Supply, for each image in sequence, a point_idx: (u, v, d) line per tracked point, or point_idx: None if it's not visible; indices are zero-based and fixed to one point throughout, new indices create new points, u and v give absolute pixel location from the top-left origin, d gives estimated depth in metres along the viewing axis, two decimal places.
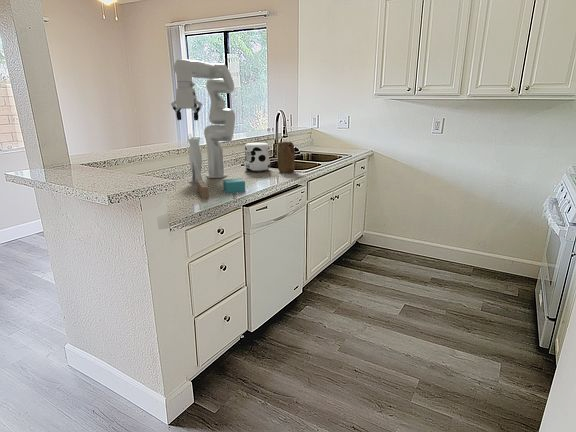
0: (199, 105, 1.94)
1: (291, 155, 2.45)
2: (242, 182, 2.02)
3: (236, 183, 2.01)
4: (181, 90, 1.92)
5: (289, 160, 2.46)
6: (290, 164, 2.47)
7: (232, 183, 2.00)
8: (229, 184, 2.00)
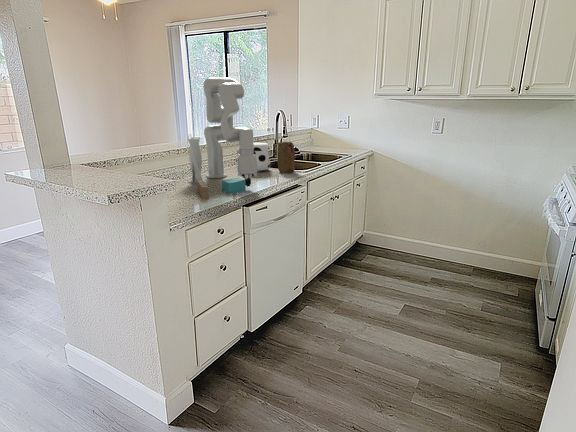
0: None
1: (291, 155, 2.45)
2: (243, 181, 2.03)
3: (237, 183, 2.02)
4: None
5: (289, 160, 2.46)
6: (290, 164, 2.47)
7: (234, 183, 2.00)
8: (230, 185, 1.99)
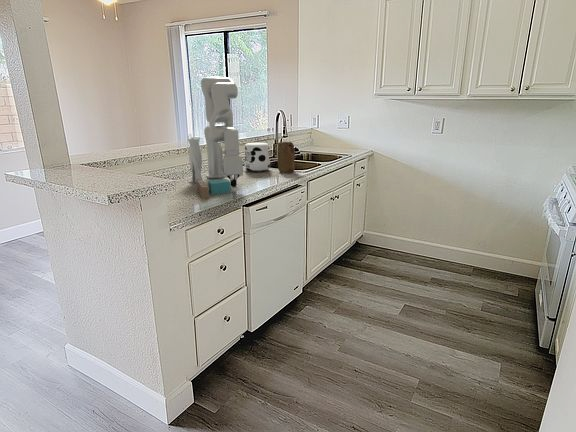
0: None
1: (291, 155, 2.45)
2: (227, 183, 2.00)
3: (221, 184, 1.99)
4: None
5: (289, 160, 2.46)
6: (290, 164, 2.47)
7: (217, 184, 1.99)
8: (213, 185, 1.98)
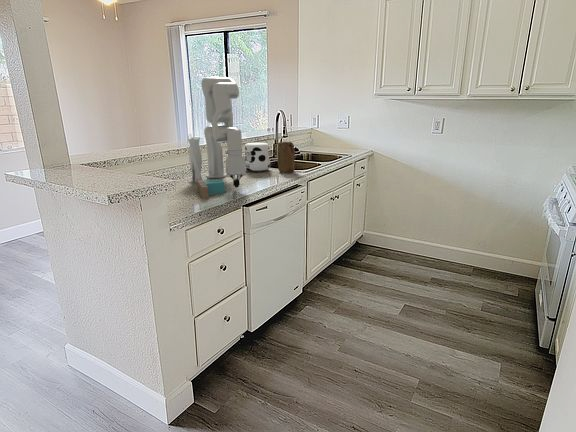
0: None
1: (291, 155, 2.45)
2: (222, 183, 2.00)
3: (215, 184, 1.99)
4: None
5: (289, 160, 2.46)
6: (290, 164, 2.47)
7: (211, 184, 1.98)
8: (208, 185, 1.98)
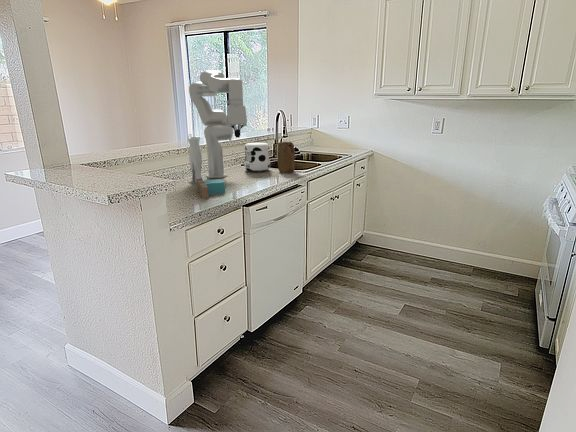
0: None
1: (291, 155, 2.45)
2: (222, 183, 2.00)
3: (216, 184, 1.99)
4: None
5: (289, 160, 2.46)
6: (290, 164, 2.47)
7: (212, 184, 1.98)
8: (208, 185, 1.98)
